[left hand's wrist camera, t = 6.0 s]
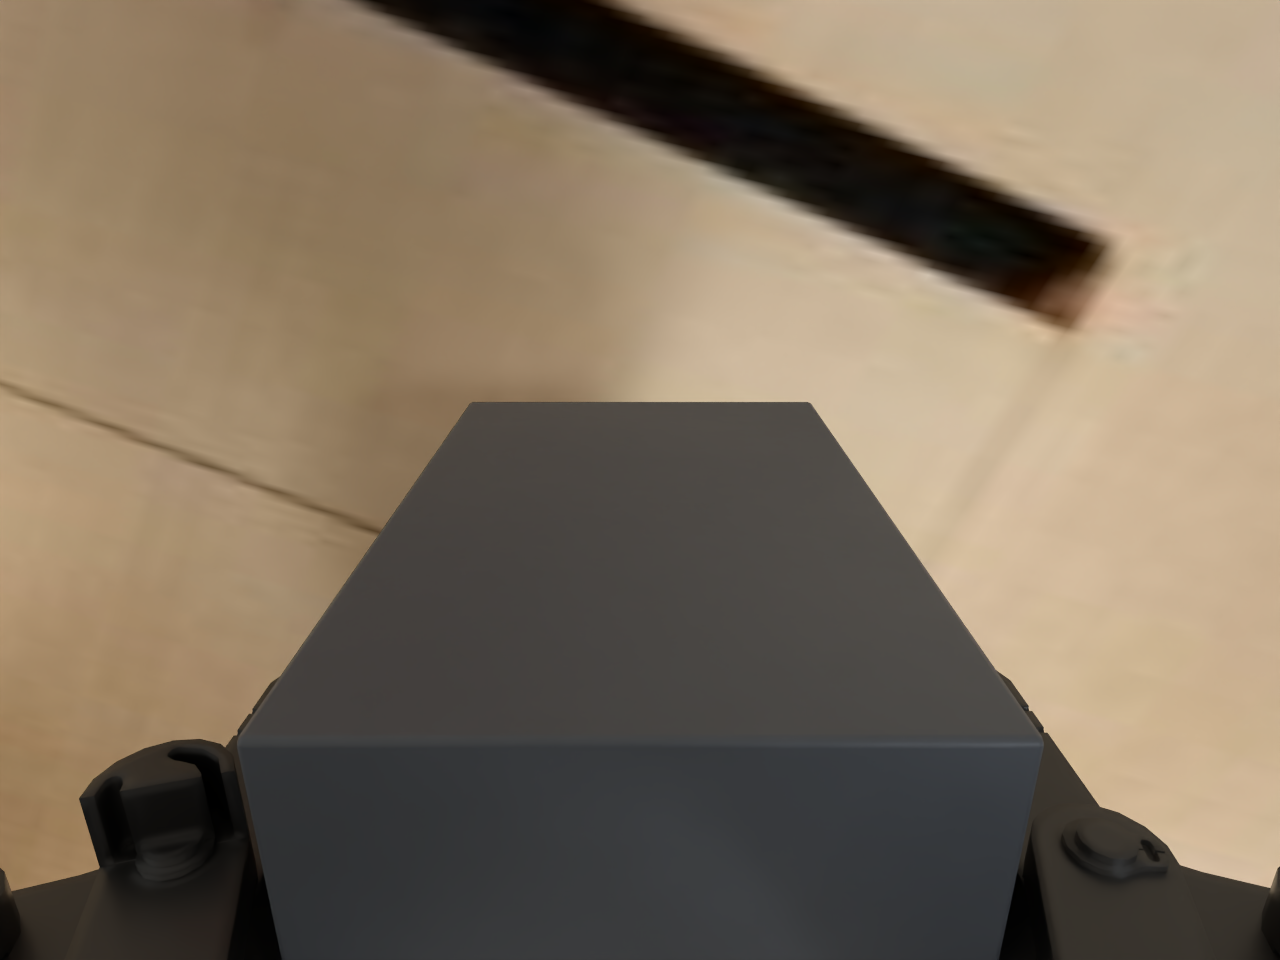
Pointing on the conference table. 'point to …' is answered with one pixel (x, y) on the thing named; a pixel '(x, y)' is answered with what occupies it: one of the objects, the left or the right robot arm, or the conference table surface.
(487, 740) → the bar
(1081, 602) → the conference table surface
